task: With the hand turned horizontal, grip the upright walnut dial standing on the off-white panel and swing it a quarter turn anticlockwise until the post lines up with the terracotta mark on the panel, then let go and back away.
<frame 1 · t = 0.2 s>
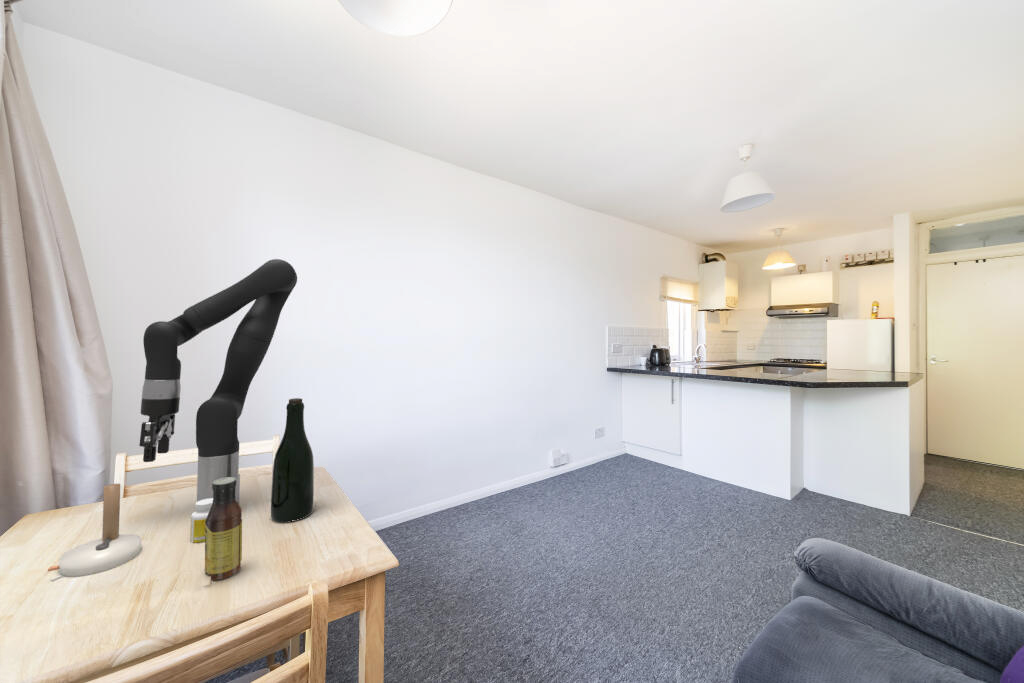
hand: (156, 457, 101), 18 cm above the table, tool pointing down, fingers open, 8 cm apart
supplement bottle: (204, 542, 92), on the table
dark green wine bottle: (292, 515, 107), on the table
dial: (103, 526, 82), point 8 cm above the table, hinge at 0.0°
sauce bottle: (222, 574, 80), on the table
panel: (101, 564, 82), on the table
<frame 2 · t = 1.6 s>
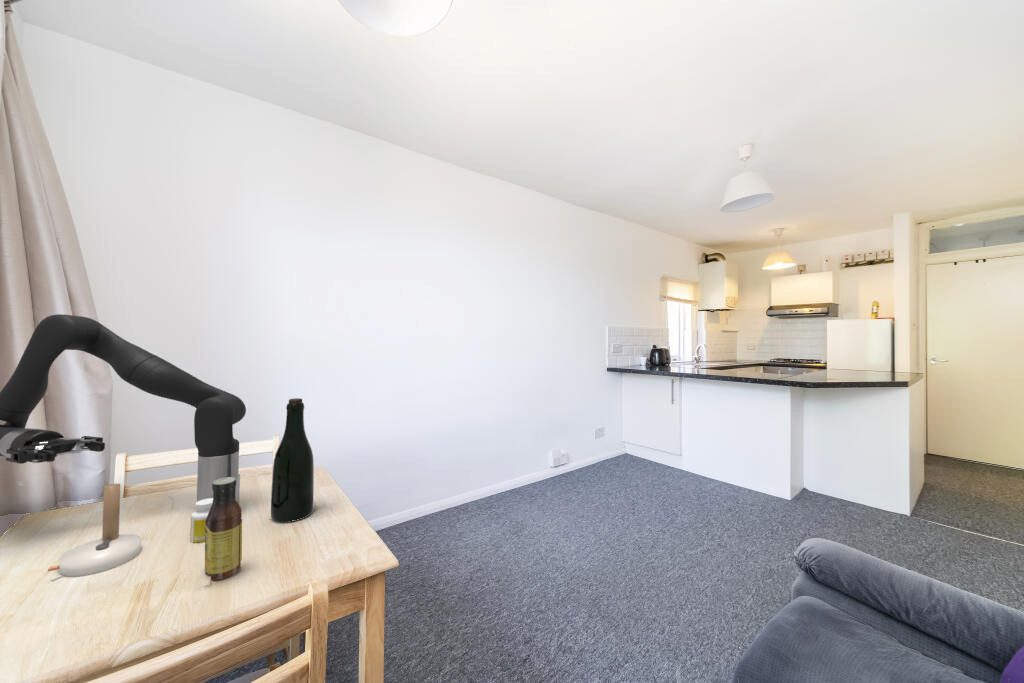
hand: (78, 451, 88), 22 cm above the table, tool horizontal, fingers open, 8 cm apart
nothing on the table moved.
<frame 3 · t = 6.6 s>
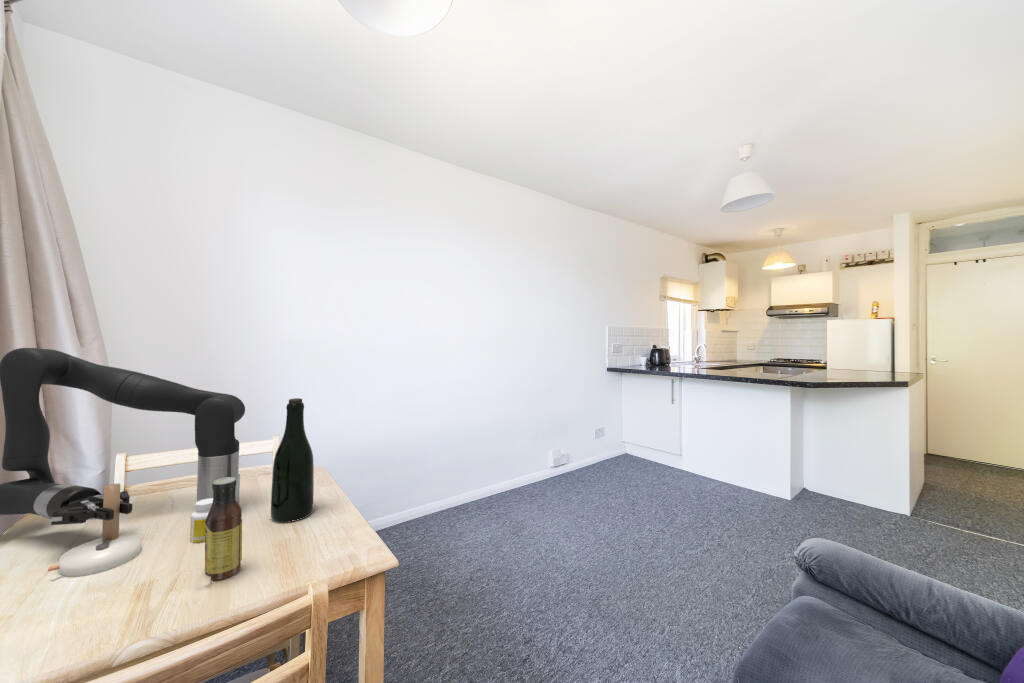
hand: (120, 511, 85), 10 cm above the table, tool horizontal, fingers closed on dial, 2 cm apart
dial: (103, 526, 82), point 8 cm above the table, hinge at 0.0°, touching gripper
everything else where it was.
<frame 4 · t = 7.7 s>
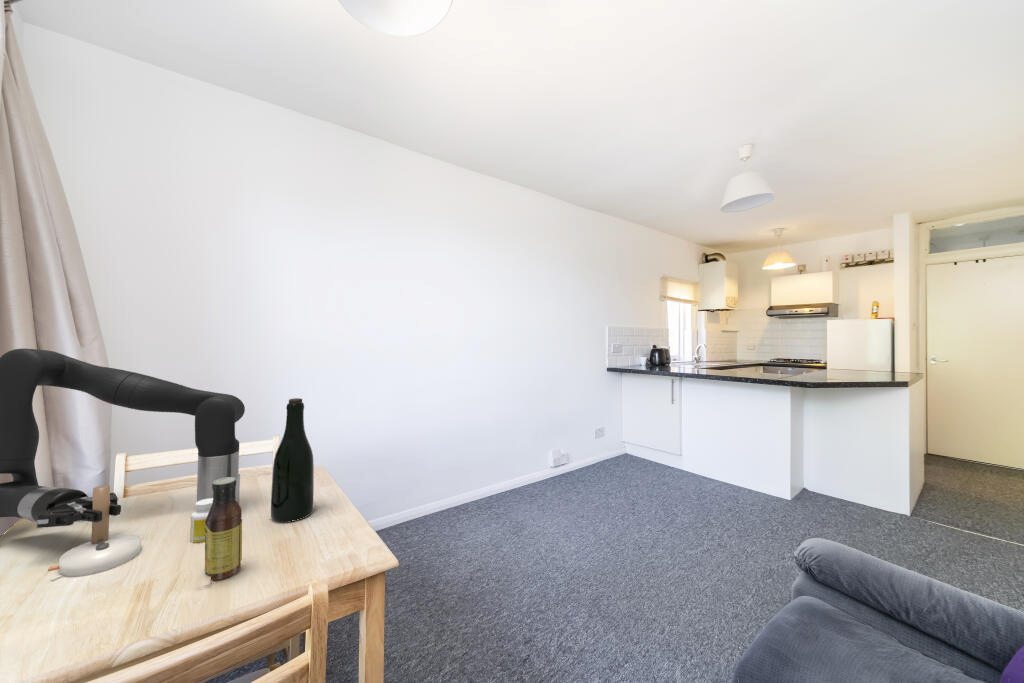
hand: (109, 513, 84), 10 cm above the table, tool horizontal, fingers closed on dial, 2 cm apart
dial: (103, 526, 82), point 8 cm above the table, hinge at 20.8°, touching gripper
everything else where it was.
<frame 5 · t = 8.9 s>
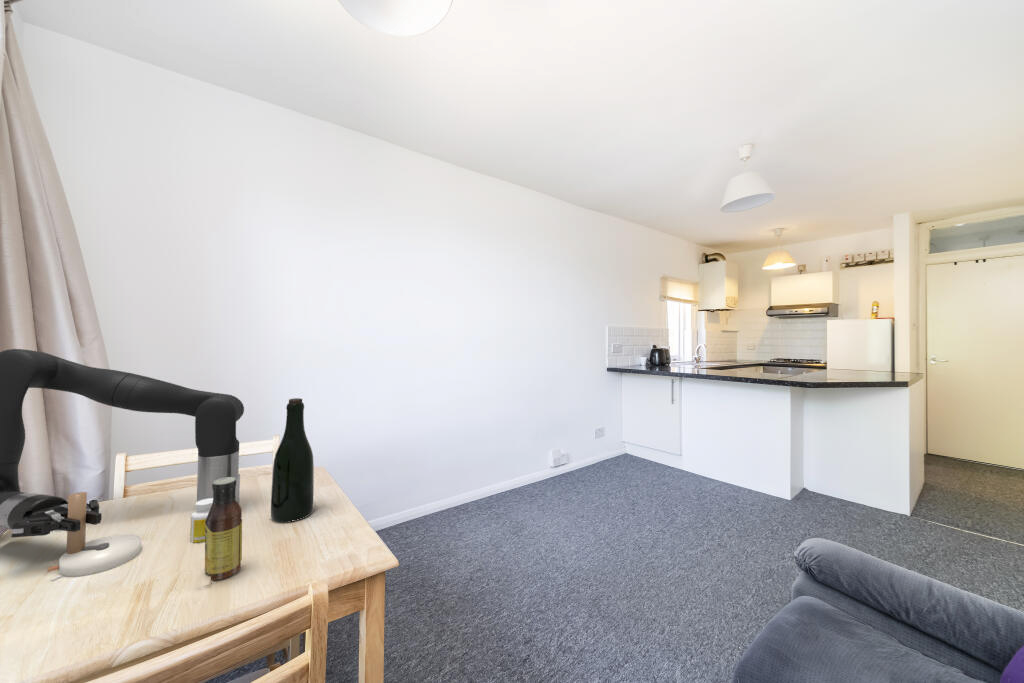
hand: (88, 522, 80), 10 cm above the table, tool horizontal, fingers closed on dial, 2 cm apart
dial: (103, 526, 82), point 8 cm above the table, hinge at 74.8°, touching gripper
everything else where it was.
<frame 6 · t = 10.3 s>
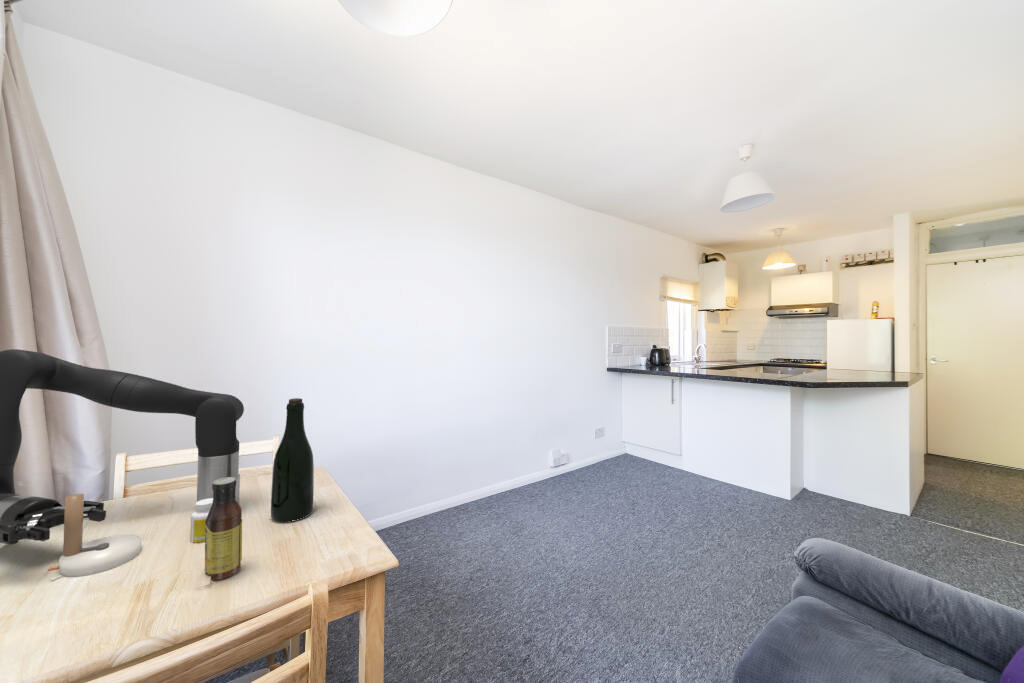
hand: (76, 525, 79), 10 cm above the table, tool horizontal, fingers open, 8 cm apart
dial: (103, 526, 82), point 8 cm above the table, hinge at 87.5°
everything else where it was.
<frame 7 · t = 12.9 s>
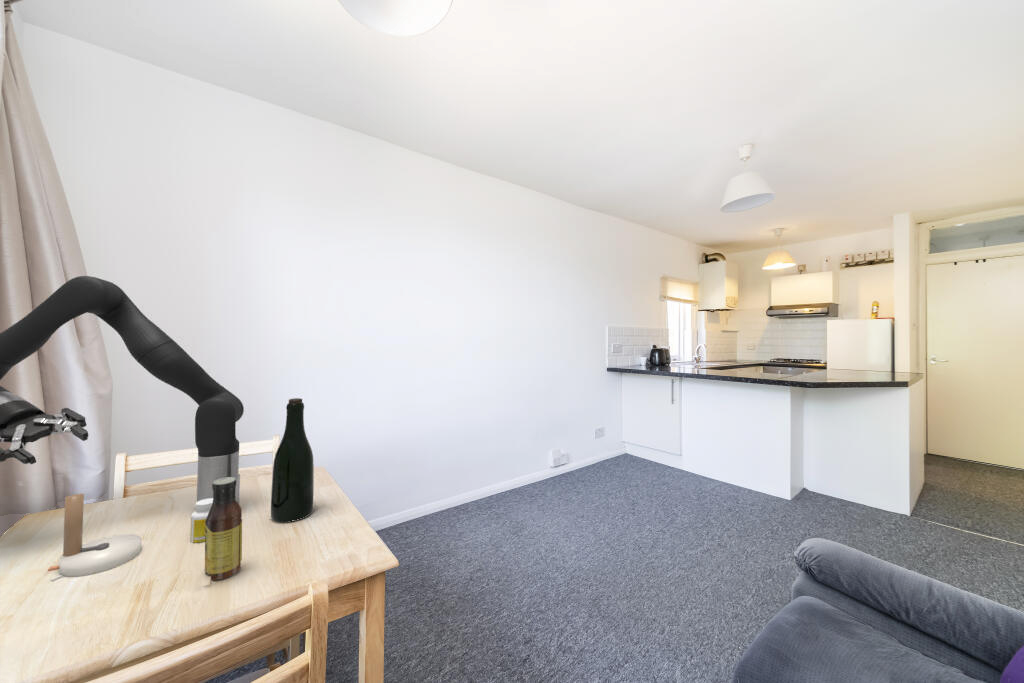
hand: (60, 448, 84), 24 cm above the table, tool tilted 65°, fingers open, 8 cm apart
nothing on the table moved.
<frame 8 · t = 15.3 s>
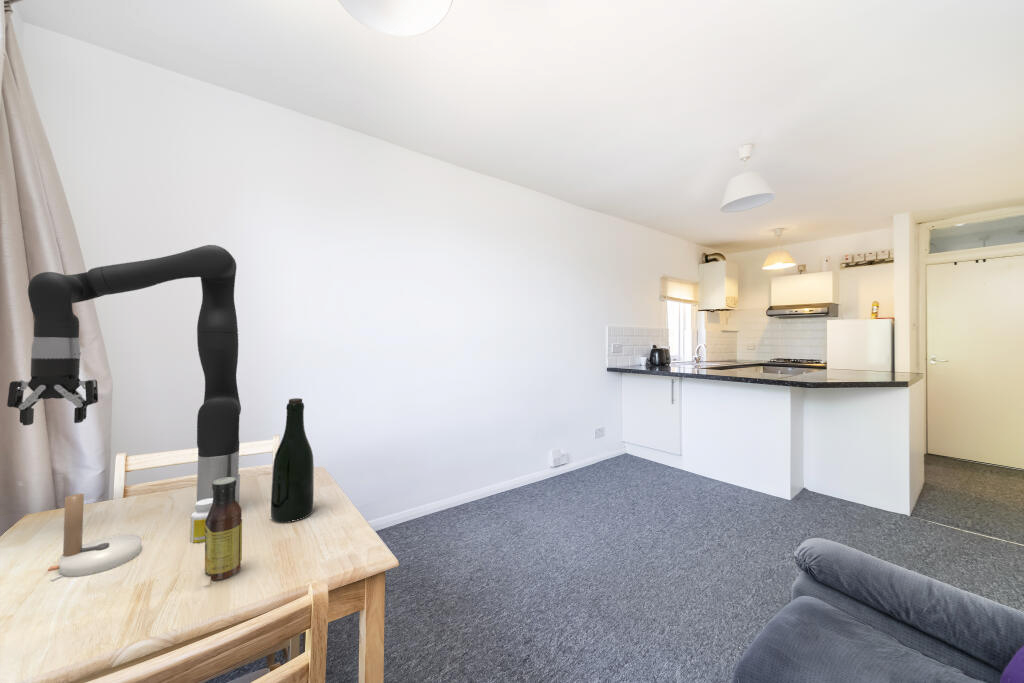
hand: (54, 423, 91), 28 cm above the table, tool pointing down, fingers open, 8 cm apart
nothing on the table moved.
at the end: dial at +88° (first picture: +0°); the gripper is holding nothing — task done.
